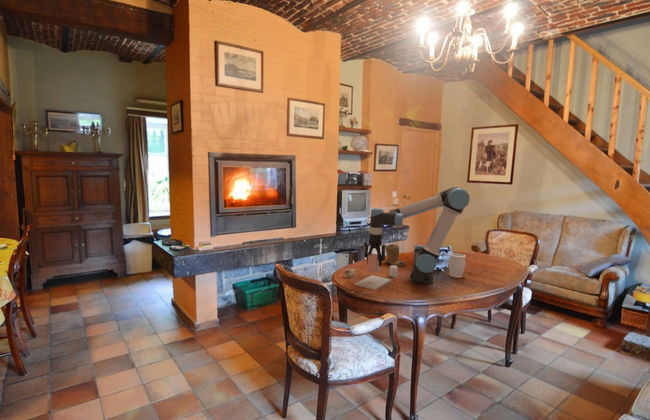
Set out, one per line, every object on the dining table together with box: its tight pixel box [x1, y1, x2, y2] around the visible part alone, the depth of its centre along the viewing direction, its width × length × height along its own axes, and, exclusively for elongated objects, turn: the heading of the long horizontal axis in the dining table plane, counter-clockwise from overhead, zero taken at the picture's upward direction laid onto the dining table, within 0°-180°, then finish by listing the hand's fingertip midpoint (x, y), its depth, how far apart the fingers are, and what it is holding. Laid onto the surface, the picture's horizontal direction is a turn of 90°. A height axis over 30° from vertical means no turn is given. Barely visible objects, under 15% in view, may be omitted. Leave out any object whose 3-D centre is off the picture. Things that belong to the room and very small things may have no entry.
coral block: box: [366, 252, 379, 274], centre depth 226 cm, size 6×6×10 cm
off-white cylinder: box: [389, 264, 399, 279], centre depth 242 cm, size 5×5×7 cm
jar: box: [448, 252, 467, 279], centre depth 247 cm, size 11×10×15 cm
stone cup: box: [384, 244, 408, 267], centre depth 271 cm, size 15×12×15 cm
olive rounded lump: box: [343, 268, 356, 279], centre depth 238 cm, size 5×5×5 cm
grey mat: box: [354, 275, 392, 291], centre depth 228 cm, size 14×22×1 cm, turn 145°
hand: (373, 269), depth 227 cm, fingers closed on coral block, 6 cm apart
